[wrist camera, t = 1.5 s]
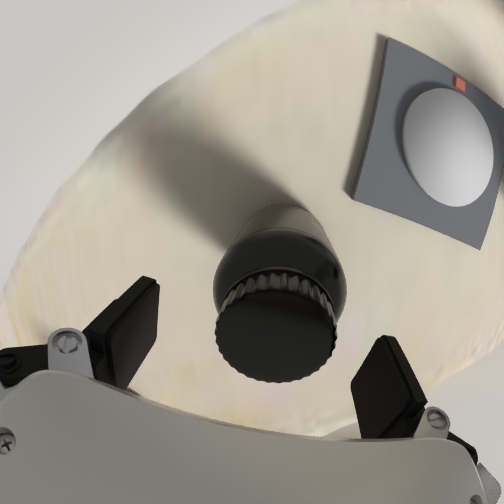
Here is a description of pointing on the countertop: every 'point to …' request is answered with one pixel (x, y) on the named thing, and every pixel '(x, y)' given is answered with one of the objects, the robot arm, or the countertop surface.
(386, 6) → the countertop surface
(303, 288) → the supplement bottle
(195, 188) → the countertop surface
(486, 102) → the mount plate
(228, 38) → the countertop surface
